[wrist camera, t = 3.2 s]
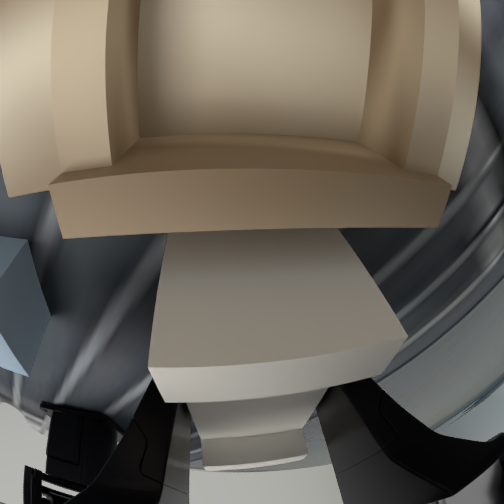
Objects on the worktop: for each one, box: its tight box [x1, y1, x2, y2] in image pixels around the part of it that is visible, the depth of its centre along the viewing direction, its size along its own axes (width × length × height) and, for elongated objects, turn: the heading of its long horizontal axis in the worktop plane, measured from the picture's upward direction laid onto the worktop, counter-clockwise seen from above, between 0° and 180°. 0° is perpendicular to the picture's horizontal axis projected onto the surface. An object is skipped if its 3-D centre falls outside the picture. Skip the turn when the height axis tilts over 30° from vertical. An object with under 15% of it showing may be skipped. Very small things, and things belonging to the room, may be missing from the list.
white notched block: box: [148, 228, 408, 471], centre depth 8 cm, size 9×4×5 cm, turn 177°
